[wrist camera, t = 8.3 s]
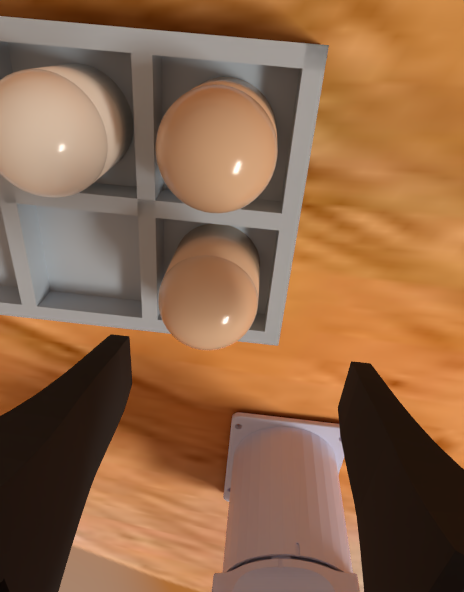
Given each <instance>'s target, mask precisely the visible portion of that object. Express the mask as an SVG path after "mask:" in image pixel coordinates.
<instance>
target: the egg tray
mask: <svg viewBox="0 0 464 592" xmlns="http://www.w3.org/2000/svg"><path fill="white" fill-rule="evenodd" d="M328 47H329V45H319V44H308V43H297V42H285V41H274V40H263V39H252V38H241V37H229V36H218V35H207V34H196V33H185V32H173V31H162V30H151V29H140V28H129V27H117V26H106V25H95V24H84V23H73V22H61V21H50V20H39V19H28V18H17V17H5V16H0V80H1V79H3V78H4V77H5V76H7V75H9V74H11V73H14V72H17V71H21V70H25V69H32V68H40V67H48V66H55V65H63V64H72V63H75V64H83V65H88V66H91V67H93V68H96V69H97V70H99V71H101V72H103V73H104V74H106V75H107V76H108V77H109V78H111V79H112V80H113V81H114V82H115V83H116V84H117V86H118V87H119V88H120V90H121V91H122V92H123V94H124V96H125V97H126V99H127V102H128V104H129V106H130V109H131V113H132V118H133V136H132V141H131V144H130V147H129V149H128V151H127V153H126V154H125V155H124V157H123V158H122V159H121V160H120V161H119V162H118V163H116V164H115V165H114V166H113V167H112V168H111V169H109V170H108V171H107V172H106V173H105V174H103V175H102V176H101V177H100V178H99V179H98V180H96V181H95V182H94V183H93V184H92V185H90V186H89V187H88V188H86V189H84V190H83V191H81V192H79V193H76V194H74V195H70V196H66V197H58V198H50V197H42V196H37V195H34V194H31V193H28V192H25V191H23V190H21V189H19V188H17V187H16V186H14V185H13V184H11V183H10V182H9V181H7V180H6V179H5V178H4V177H3V176H2V175H1V174H0V315H8V316H17V317H26V318H35V319H44V320H53V321H62V322H71V323H80V324H89V325H98V326H107V327H116V328H124V329H133V330H142V331H151V332H160V333H169V334H171V333H170V332H169V331H168V329H167V328H166V326H165V325H164V323H163V321H162V318H161V315H160V311H159V305H158V297H159V289H160V286H161V283H162V280H163V278H164V276H165V273H166V271H167V269H168V267H169V265H170V262H171V260H172V258H173V256H174V254H175V251H176V249H177V247H178V245H179V243H180V241H181V240H182V239H183V237H184V236H185V235H186V234H187V233H188V232H190V231H191V230H193V229H194V228H196V227H199V226H201V225H205V224H220V225H229V226H232V227H235V228H237V229H239V230H240V231H242V232H243V233H245V234H246V235H247V236H248V237H249V238H250V239H251V240H252V242H253V243H254V245H255V246H256V248H257V251H258V253H259V257H260V278H259V297H258V309H257V314H256V317H255V319H254V322H253V324H252V325H251V327H250V329H249V330H248V331H247V332H246V334H245V335H244V336H243V337H242V338H241V339H239V340H238V341H241V342H250V343H259V344H268V345H277V346H278V344H279V338H280V332H281V326H282V320H283V314H284V308H285V302H286V296H287V290H288V284H289V278H290V272H291V266H292V261H293V255H294V249H295V243H296V237H297V231H298V225H299V219H300V213H301V207H302V201H303V195H304V189H305V183H306V177H307V171H308V165H309V160H310V154H311V148H312V142H313V136H314V130H315V124H316V118H317V112H318V106H319V100H320V94H321V88H322V82H323V76H324V70H325V64H326V58H327V53H328ZM217 77H233V78H238V79H241V80H244V81H246V82H248V83H250V84H252V85H253V86H255V87H256V88H257V89H258V90H259V91H260V92H261V93H262V94H263V95H264V96H265V97H266V99H267V100H268V102H269V103H270V105H271V107H272V109H273V112H274V115H275V119H276V125H277V145H278V152H277V161H276V166H275V170H274V173H273V175H272V178H271V180H270V182H269V183H268V185H267V186H266V188H265V189H264V191H263V192H262V193H261V194H260V195H259V196H258V197H257V198H256V199H255V200H254V201H252V202H251V203H250V204H248V205H246V206H245V207H243V208H241V209H238V210H235V211H231V212H227V213H208V212H203V211H199V210H196V209H194V208H192V207H190V206H188V205H186V204H185V203H183V202H182V201H181V200H179V199H178V198H177V197H176V196H175V195H174V194H173V193H172V192H171V190H170V189H169V188H168V186H167V185H166V183H165V182H164V180H163V178H162V176H161V173H160V171H159V168H158V164H157V159H156V138H157V132H158V129H159V126H160V123H161V121H162V119H163V116H164V115H165V113H166V112H167V110H168V109H169V108H170V106H171V105H172V104H173V103H174V102H175V101H176V100H177V99H178V98H179V97H180V96H182V95H183V94H185V93H186V92H188V91H190V90H191V89H193V88H195V87H196V86H198V85H200V84H201V83H203V82H205V81H207V80H210V79H213V78H217Z"/></svg>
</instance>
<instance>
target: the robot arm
mask: <svg viewBox="0 0 464 592" xmlns="http://www.w3.org/2000/svg"><path fill="white" fill-rule="evenodd" d="M131 386H132V371H131V356H130V340H129V336H120V335H110V336H108V337H107V338H106V339H105V340H104V341H102V342H101V343H100V344H99V345H98V346H97V347H96V348H94V349H93V350H92V351H91V352H90V353H89V354H87V355H86V356H85V357H84V358H83V359H82V360H80V361H79V362H78V363H77V364H75V365H74V366H73V367H72V368H71V369H69V370H68V371H67V372H66V373H64V374H63V375H62V376H61V377H59V378H58V379H57V380H55V381H54V382H53V383H51V384H50V385H49V386H47V387H46V388H44V389H43V390H42V391H40V392H39V393H37V394H36V395H35V396H33V397H32V398H30V399H28V400H27V401H25V402H24V403H22V404H20V405H19V406H17V407H16V408H14V409H12V410H10V411H9V412H7V413H5V414H3V415H1V416H0V592H58V591H59V587H60V584H61V580H62V577H63V573H64V570H65V567H66V563H67V560H68V556H69V553H70V550H71V546H72V543H73V540H74V537H75V534H76V531H77V527H78V524H79V521H80V518H81V515H82V512H83V509H84V506H85V503H86V500H87V497H88V494H89V491H90V488H91V485H92V482H93V480H94V477H95V475H96V472H97V470H98V468H99V466H100V463H101V461H102V459H103V457H104V455H105V452H106V450H107V448H108V446H109V444H110V441H111V439H112V437H113V435H114V433H115V430H116V428H117V426H118V423H119V421H120V419H121V417H122V414H123V412H124V409H125V406H126V403H127V400H128V396H129V393H130V390H131ZM338 414H339V424H336V423H327V422H318V421H310V420H301V419H293V418H284V417H276V416H267V415H258V414H250V413H241V412H237V413H234V414H233V416H232V422H231V432H230V441H229V450H228V459H227V469H226V478H225V487H224V496H223V497H224V499H225V500H226V501H229V510H228V520H227V531H226V542H225V552H224V563H223V573H215V574H214V577H213V586H212V592H360V590H359V583H358V577H357V574H355V573H353V570H352V563H351V556H350V550H349V543H348V537H347V530H346V523H345V517H344V510H343V503H342V497H341V490H340V483H339V477H338V474H339V471H340V468H341V465H342V462H343V459H344V457H345V462H346V466H347V471H348V475H349V480H350V485H351V489H352V494H353V499H354V504H355V509H356V515H357V523H358V532H359V541H360V550H361V561H362V572H363V582H364V592H464V469H463V468H461V467H460V466H459V465H458V464H457V463H456V462H455V461H454V460H453V459H452V458H451V457H450V456H449V455H448V454H446V453H445V452H444V451H443V450H442V449H441V448H440V447H439V446H438V445H437V444H436V443H435V442H434V441H433V440H432V439H431V438H430V436H429V435H428V434H427V433H426V432H425V431H424V430H423V429H422V428H421V427H420V425H419V424H418V423H417V422H416V421H415V420H414V419H413V417H412V416H411V415H410V414H409V413H408V411H407V410H406V409H405V408H404V407H403V405H402V404H401V403H400V402H399V400H398V399H397V398H396V397H395V395H394V394H393V393H392V391H391V390H390V389H389V387H388V386H387V385H386V383H385V382H384V381H383V379H382V378H381V377H380V375H379V374H378V373H377V371H376V370H375V369H374V368H373V366H372V365H371V364H370V363H361V362H352V361H351V364H350V368H349V371H348V375H347V378H346V381H345V385H344V388H343V392H342V395H341V399H340V402H339V406H338ZM237 424H240V425H237Z"/></svg>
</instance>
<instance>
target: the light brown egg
mask: <svg viewBox="0 0 464 592" xmlns="http://www.w3.org/2000/svg"><path fill="white" fill-rule="evenodd" d="M132 136H133V118H132V113H131V109H130V106H129V104H128V102H127V99H126V97H125V96H124V94H123V92H122V91H121V90H120V88H119V87H118V86H117V84H116V83H115V82H114V81H113V80H112V79H111V78H109V77H108V76H107V75H106V74H104V73H103V72H101V71H99V70H97V69H96V68H93V67H91V66H88V65H83V64H75V63H72V64H63V65H55V66H48V67H40V68H32V69H25V70H21V71H17V72H14V73H11V74H9V75H7V76H5V77H4V78H3V79H1V80H0V174H1V175H2V176H3V177H4V178H5V179H6V180H7V181H9V182H10V183H11V184H13V185H14V186H16V187H17V188H19V189H21V190H23V191H25V192H28V193H31V194H34V195H37V196H42V197H50V198H58V197H66V196H70V195H74V194H76V193H79V192H81V191H83V190H84V189H86V188H88V187H89V186H90V185H92V184H93V183H94V182H95V181H96V180H98V179H99V178H100V177H101V176H102V175H103V174H105V173H106V172H107V171H108V170H109V169H111V168H112V167H113V166H114V165H115V164H116V163H118V162H119V161H120V160H121V159H122V158H123V157H124V155H125V154H126V153H127V151H128V149H129V147H130V144H131V141H132Z"/></svg>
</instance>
